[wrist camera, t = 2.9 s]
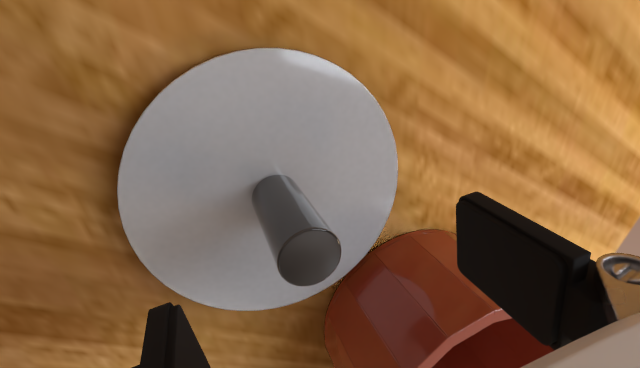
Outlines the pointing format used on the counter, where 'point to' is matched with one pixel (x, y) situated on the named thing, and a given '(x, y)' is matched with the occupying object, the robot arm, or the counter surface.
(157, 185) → the pan lid
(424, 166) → the counter surface
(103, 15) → the counter surface
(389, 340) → the saucepan
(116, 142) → the counter surface
